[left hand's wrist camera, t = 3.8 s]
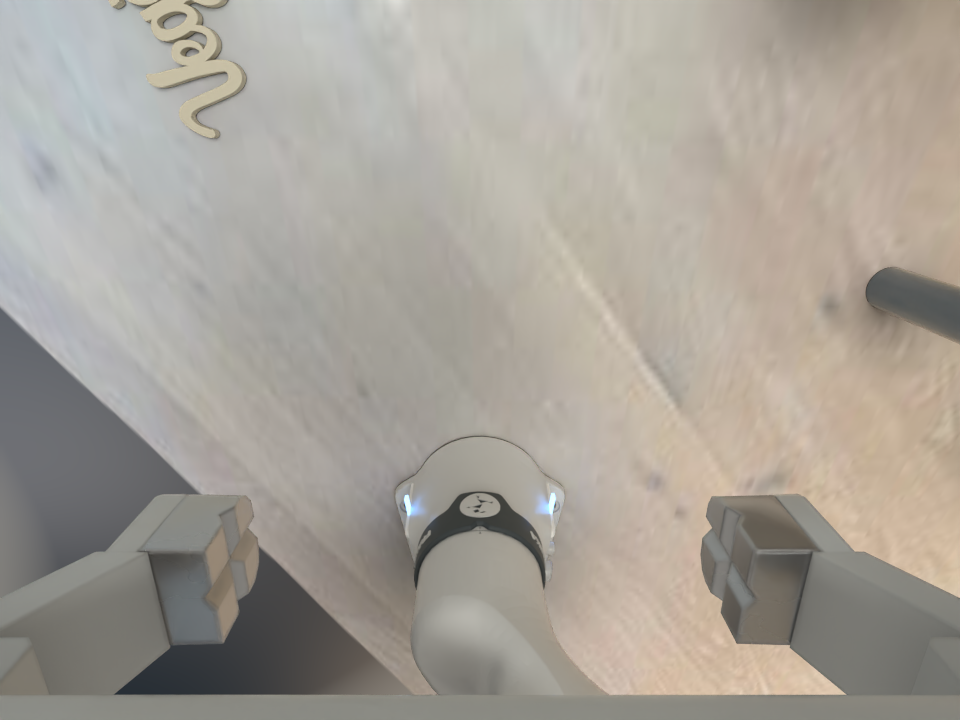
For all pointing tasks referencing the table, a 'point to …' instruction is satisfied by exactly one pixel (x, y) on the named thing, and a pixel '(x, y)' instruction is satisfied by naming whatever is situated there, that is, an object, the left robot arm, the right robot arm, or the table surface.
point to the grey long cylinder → (917, 300)
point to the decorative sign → (165, 4)
